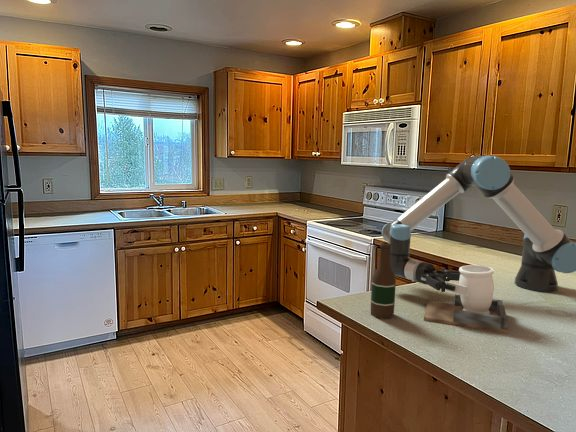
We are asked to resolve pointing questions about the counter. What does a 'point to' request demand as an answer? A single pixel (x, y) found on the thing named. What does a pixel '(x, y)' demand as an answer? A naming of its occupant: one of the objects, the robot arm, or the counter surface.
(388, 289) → the beer bottle
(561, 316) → the counter surface
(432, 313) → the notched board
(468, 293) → the jar
